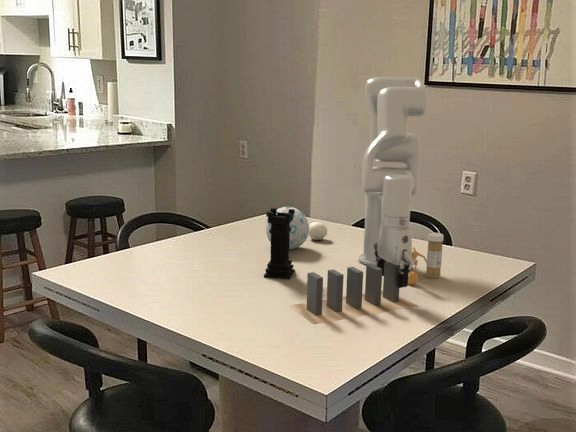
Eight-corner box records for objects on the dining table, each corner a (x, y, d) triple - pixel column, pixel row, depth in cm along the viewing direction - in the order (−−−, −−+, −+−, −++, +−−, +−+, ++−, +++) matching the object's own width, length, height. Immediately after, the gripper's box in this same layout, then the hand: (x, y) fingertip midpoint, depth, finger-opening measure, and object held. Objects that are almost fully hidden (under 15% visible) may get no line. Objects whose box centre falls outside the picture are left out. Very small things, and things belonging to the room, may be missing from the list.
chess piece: (289, 279, 195) (291, 214, 190) (263, 277, 196) (264, 212, 192) (294, 271, 203) (296, 209, 198) (269, 269, 204) (270, 207, 200)
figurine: (425, 283, 193) (428, 244, 191) (426, 290, 188) (428, 250, 185) (397, 281, 195) (399, 243, 192) (396, 288, 189) (399, 248, 186)
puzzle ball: (258, 251, 224) (258, 209, 220) (276, 241, 237) (276, 201, 234) (299, 257, 218) (300, 213, 215) (314, 246, 232) (316, 205, 228)
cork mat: (388, 291, 186) (388, 289, 186) (418, 307, 174) (418, 305, 174) (288, 306, 172) (288, 305, 172) (313, 325, 160) (313, 324, 160)
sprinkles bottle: (435, 273, 204) (438, 231, 201) (443, 277, 200) (446, 235, 197) (422, 274, 202) (425, 232, 199) (430, 279, 198) (433, 236, 195)
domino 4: (370, 299, 178) (371, 264, 176) (380, 304, 174) (382, 269, 172) (364, 299, 178) (366, 264, 175) (374, 305, 173) (376, 270, 171)
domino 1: (312, 308, 171) (313, 272, 168) (321, 314, 166) (323, 277, 164) (306, 309, 170) (307, 272, 168) (315, 316, 165) (316, 278, 163)
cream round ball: (323, 243, 236) (323, 225, 235) (304, 240, 239) (305, 222, 238) (330, 239, 242) (330, 221, 241) (312, 236, 245) (312, 219, 244)
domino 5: (387, 296, 181) (389, 261, 179) (398, 301, 177) (400, 266, 175) (382, 296, 180) (384, 262, 178) (393, 302, 176) (395, 267, 174)
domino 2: (332, 305, 173) (333, 269, 171) (342, 311, 169) (343, 274, 167) (326, 306, 172) (327, 270, 170) (336, 312, 168) (337, 275, 166)
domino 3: (351, 302, 176) (353, 266, 174) (361, 308, 171) (363, 271, 169) (345, 303, 175) (347, 267, 173) (355, 309, 171) (357, 272, 168)
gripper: (426, 227, 168) (422, 289, 172) (388, 212, 183) (384, 270, 187) (403, 230, 165) (399, 293, 169) (365, 214, 180) (362, 273, 184)
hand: (391, 281), depth 178 cm, fingers open, 9 cm apart
